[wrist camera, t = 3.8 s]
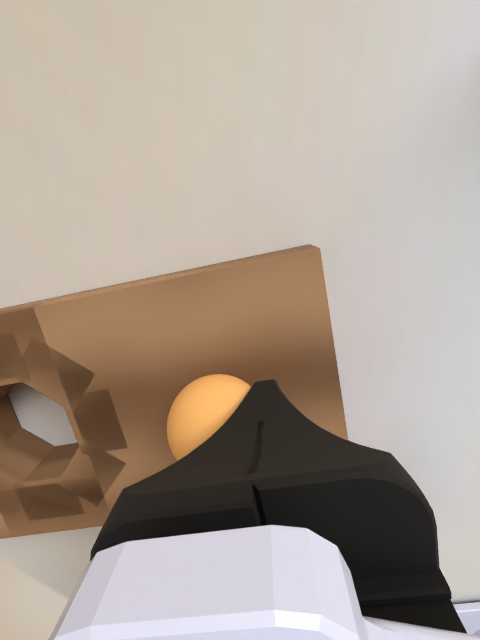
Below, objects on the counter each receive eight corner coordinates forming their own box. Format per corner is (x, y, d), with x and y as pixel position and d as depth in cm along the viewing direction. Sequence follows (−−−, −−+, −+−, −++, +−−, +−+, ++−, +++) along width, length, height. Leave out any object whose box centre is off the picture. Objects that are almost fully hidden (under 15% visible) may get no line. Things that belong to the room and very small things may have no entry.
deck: (341, 453, 16) (356, 493, 14) (15, 499, 18) (-23, 541, 16) (309, 244, 14) (320, 248, 11) (-66, 322, 16) (-125, 340, 13)
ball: (285, 439, 13) (263, 510, 10) (204, 438, 14) (162, 501, 11) (269, 355, 12) (239, 403, 9) (185, 362, 13) (133, 407, 10)
